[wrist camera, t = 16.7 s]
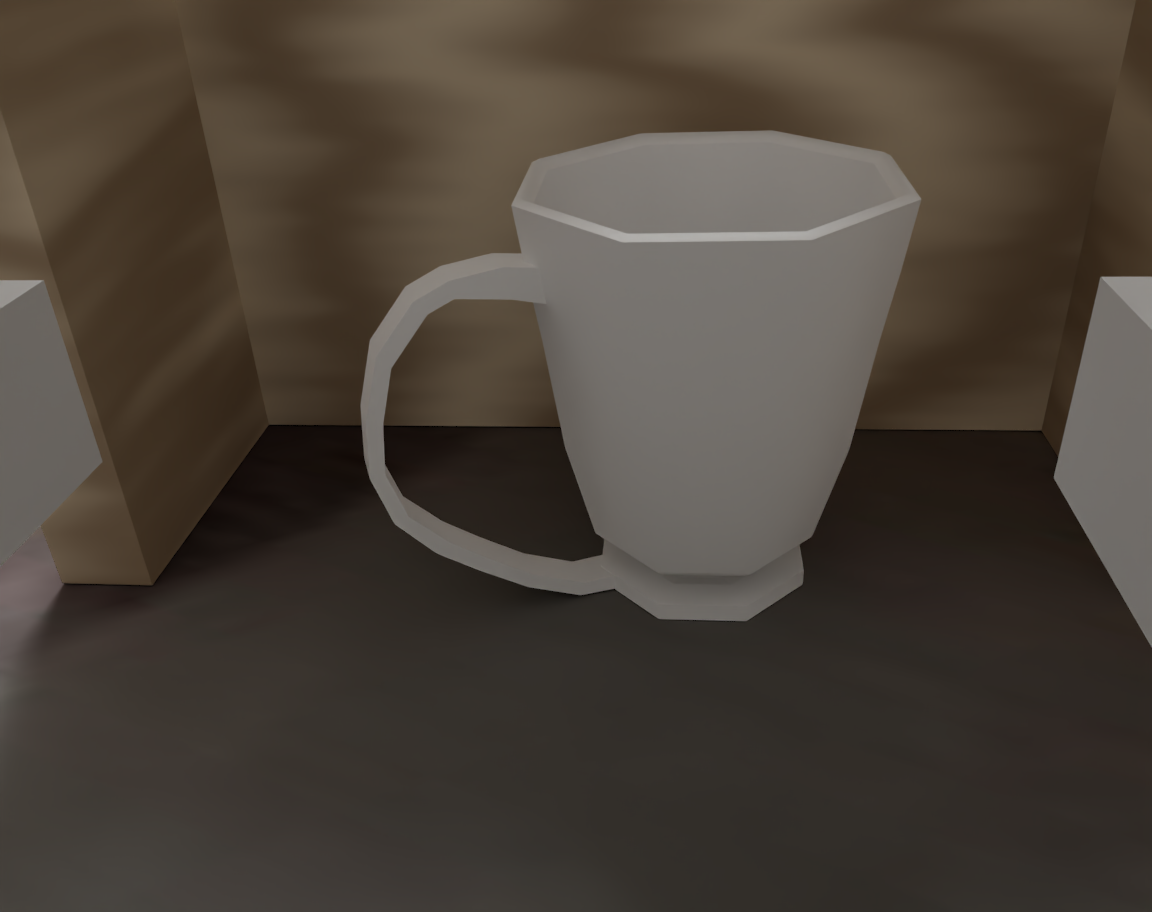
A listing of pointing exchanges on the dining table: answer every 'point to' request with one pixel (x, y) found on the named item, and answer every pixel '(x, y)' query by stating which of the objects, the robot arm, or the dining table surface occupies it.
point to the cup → (683, 354)
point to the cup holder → (486, 192)
